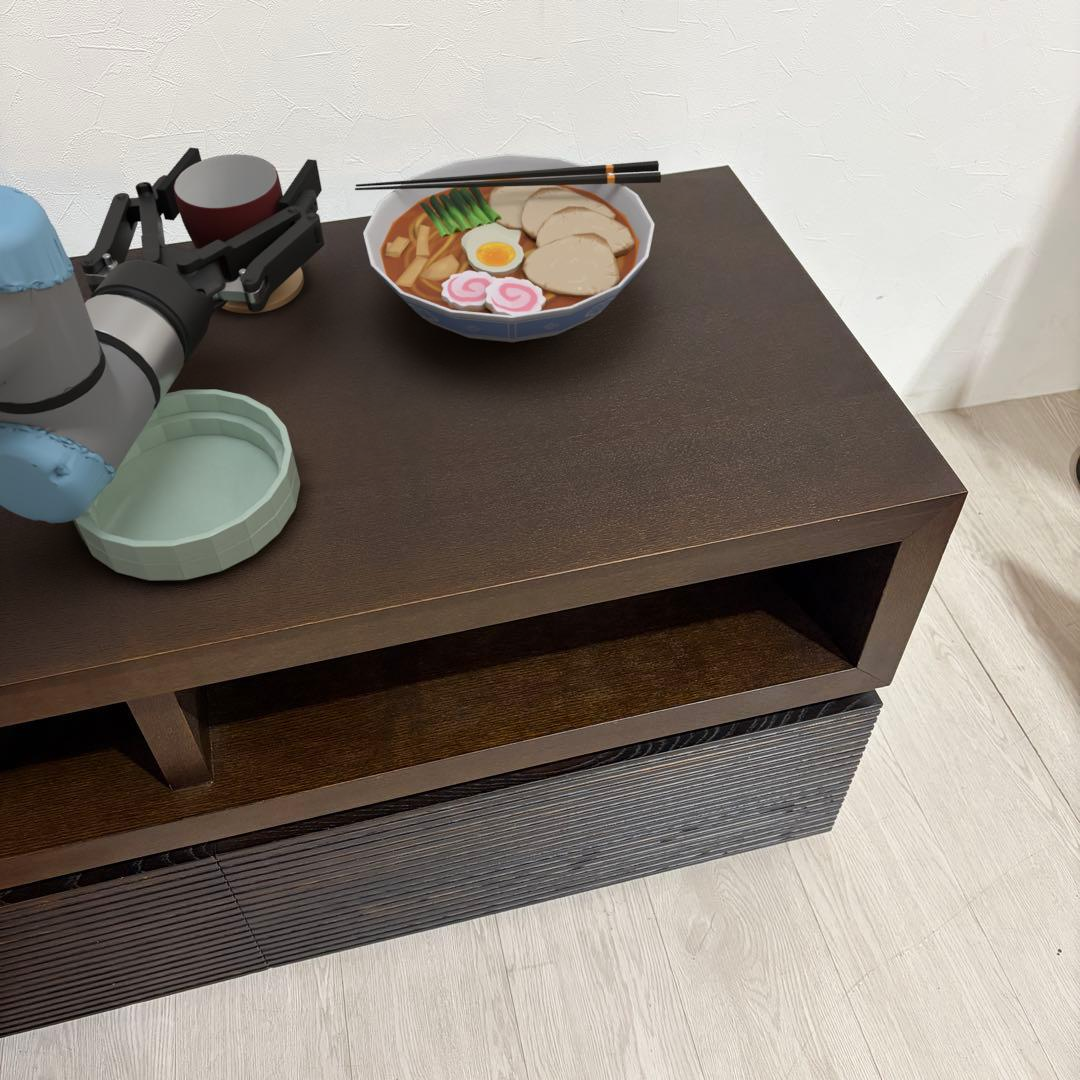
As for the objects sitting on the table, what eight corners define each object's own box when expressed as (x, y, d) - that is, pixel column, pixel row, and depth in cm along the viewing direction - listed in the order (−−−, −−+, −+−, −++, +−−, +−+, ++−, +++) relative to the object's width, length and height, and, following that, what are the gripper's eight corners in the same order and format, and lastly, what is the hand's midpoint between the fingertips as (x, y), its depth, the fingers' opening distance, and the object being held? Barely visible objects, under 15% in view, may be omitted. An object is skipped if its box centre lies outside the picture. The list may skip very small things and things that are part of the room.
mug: (222, 244, 97) (194, 137, 89) (312, 244, 97) (292, 138, 89) (194, 317, 90) (161, 208, 82) (291, 317, 90) (267, 209, 82)
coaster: (215, 321, 90) (213, 316, 90) (203, 268, 96) (202, 262, 95) (311, 302, 92) (310, 296, 92) (295, 251, 97) (294, 245, 97)
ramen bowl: (351, 401, 84) (334, 313, 78) (371, 232, 99) (359, 148, 93) (677, 390, 84) (687, 302, 78) (648, 224, 99) (653, 139, 93)
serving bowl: (87, 610, 70) (66, 571, 67) (77, 457, 80) (58, 415, 77) (318, 553, 73) (308, 513, 70) (281, 412, 83) (271, 370, 80)
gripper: (10, 358, 80) (144, 196, 95) (297, 396, 77) (390, 222, 92) (-31, 271, 75) (118, 113, 89) (276, 308, 71) (379, 138, 86)
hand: (256, 168), depth 90 cm, fingers open, 9 cm apart
